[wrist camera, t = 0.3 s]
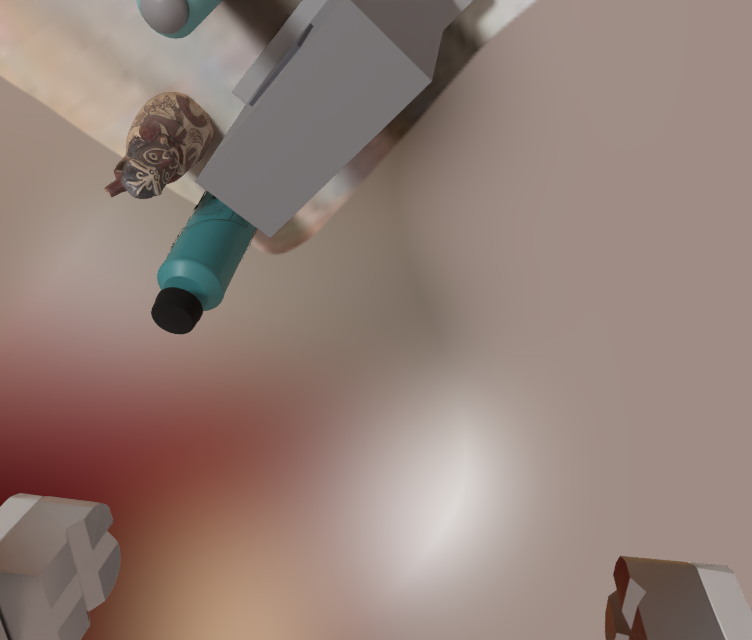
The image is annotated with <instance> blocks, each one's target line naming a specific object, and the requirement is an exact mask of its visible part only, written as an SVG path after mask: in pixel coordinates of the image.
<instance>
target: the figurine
mask: <svg viewBox="0 0 752 640" xmlns="http://www.w3.org/2000/svg"><path fill="white" fill-rule="evenodd" d="M213 134H214V129H213V127H212V125H211V122H210V117H209V115H208V113H206V112H205V111H204V110H203V109H202V108H201V107H200V106H199V105H198V104H197V103H195V102H194V101H193V100H192V99H191V98H189V97H188V96H187V95H185V94H181V93H176V92H168V93H162V94H159V95H157V96H155V97H154V98H152V99H150V100H149V101H148V102H147V103H146V104H145V105H144V106H143V107H142V108H141V109H140V111H139V113H138V114H137V116H136V118H135V119H134V121H133V123H132V126H131V128H130V130H129V133H128V136H127V141H126V156H125V157H124V158H123V159H122V160H121V161H120V162H119V163H118V165H117V166H116V168H115V169H114V174H115V177H116V180H115V181H114V182H112V183H111V184H109V185H108V186H107V187H105V191H106V192H107V193H108V194H109V195H110V197H114V196H116V195H118V194H119V193H121V192H125V191H128V192H129V193H130V194H131V195H132V196H133V197H135V198H139V199H148V198H151V197H153V196H158V195H161V193H162V190H163V188H164V187H165V185H166V184H169V183H172V182H175V181H176V180H178V179H179V178H180V177H182V176H183V175H184V174H185V173H186V172H187V171H188V170H189V169H190V168H191V167H192V166H193V165H194V164H195V163H197V162H198V161H200V160H201V158H202V156H203V154H204V152H205V150H206V148H207V146H208V145H209V143H210V141H211V140H212V138H213Z"/></svg>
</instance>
